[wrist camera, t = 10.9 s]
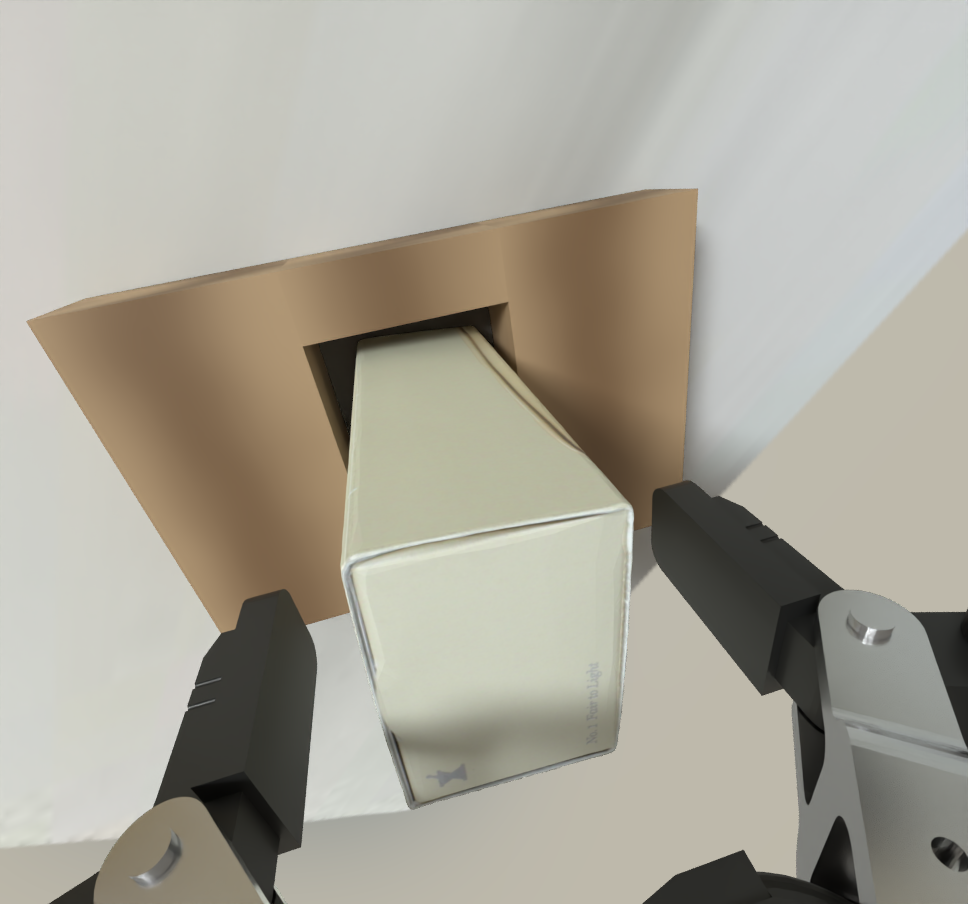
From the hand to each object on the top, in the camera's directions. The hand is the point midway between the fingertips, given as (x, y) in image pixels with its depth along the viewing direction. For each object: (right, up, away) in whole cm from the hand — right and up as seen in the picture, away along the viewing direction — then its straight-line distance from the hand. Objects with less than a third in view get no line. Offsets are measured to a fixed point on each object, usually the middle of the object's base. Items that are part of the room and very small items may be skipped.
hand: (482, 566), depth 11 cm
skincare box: (-2, +4, +8) cm, 9 cm away
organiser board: (-2, +4, +8) cm, 9 cm away
